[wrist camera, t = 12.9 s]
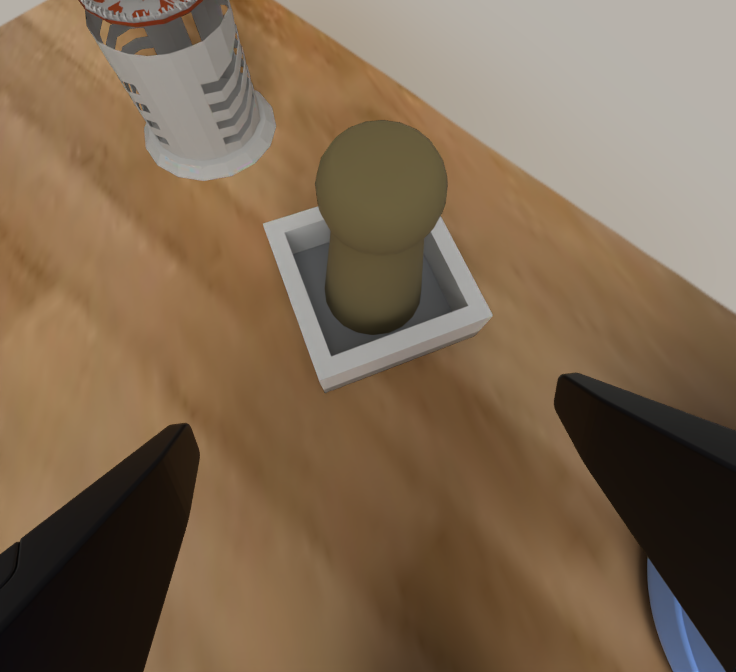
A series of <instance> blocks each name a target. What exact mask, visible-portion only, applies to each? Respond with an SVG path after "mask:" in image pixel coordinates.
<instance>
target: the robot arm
mask: <svg viewBox="0 0 736 672" xmlns="http://www.w3.org/2000/svg"><path fill="white" fill-rule="evenodd" d="M554 407H555V410H556V413H557V414H558V416H559V418H560V420H561V422H562V424H563V426H564V427H565V429H566V431H567V433H568V435H569V437H570V439H571V440H572V442H573V444H574V446H575V448H576V450H577V452H578V453H579V455H580V457H581V459H582V460H583V462H584V464H585V465H586V467H587V468H588V470H589V472H590V473H591V475H592V476H593V477H594V479H595V480H596V482H597V483H598V485H599V486H600V488H601V489H602V491H603V492H604V494H605V495H606V497H607V498H608V499H609V501H610V502H611V504H612V505H613V507H614V508H615V510H616V511H617V513H618V514H619V516H620V517H621V519H622V520H623V522H624V523H625V524H626V526H627V527H628V529H629V530H630V532H631V533H632V535H633V536H634V538H635V539H636V541H637V542H638V544H639V545H640V546H641V548H642V549H643V551H644V552H645V554H646V555H647V557H648V558H649V560H650V561H651V563H652V564H653V566H654V567H655V568H656V570H657V571H658V573H659V574H660V576H661V577H662V579H663V580H664V582H665V583H666V585H667V586H668V588H669V589H670V591H671V592H672V593H673V595H674V596H675V598H676V599H677V601H678V602H679V604H680V605H681V607H682V608H683V610H684V611H685V613H686V614H687V615H688V617H689V618H690V620H691V621H692V623H693V624H694V626H695V627H696V629H697V630H698V632H699V633H700V635H701V636H702V638H703V639H704V640H705V642H706V643H707V645H708V646H709V648H710V649H711V651H712V652H713V654H714V655H715V657H716V658H717V660H718V661H719V662H720V664H721V665H722V667H723V668H724V670H725V671H726V672H736V431H734V430H732V429H729V428H726V427H724V426H721V425H718V424H715V423H713V422H710V421H707V420H705V419H702V418H699V417H696V416H694V415H691V414H688V413H686V412H683V411H680V410H678V409H675V408H672V407H669V406H667V405H664V404H661V403H659V402H656V401H653V400H650V399H648V398H645V397H642V396H640V395H637V394H634V393H631V392H629V391H626V390H623V389H621V388H618V387H615V386H612V385H610V384H607V383H604V382H602V381H599V380H596V379H594V378H591V377H588V376H585V375H583V374H580V373H568V374H562V375H560V376H559V378H558V381H557V386H556V392H555V398H554ZM199 459H200V452H199V448H198V445H197V442H196V440H195V437H194V434H193V431H192V428H191V426H190V425H189V424H187V423H180V424H173V425H169V426H167V427H166V428H165V429H164V430H162V431H161V432H160V433H158V434H157V435H156V436H154V437H153V438H152V439H150V440H149V441H148V442H147V443H145V444H144V445H143V446H141V447H140V448H139V449H137V450H136V451H135V452H133V453H132V454H131V455H130V456H128V457H127V458H126V459H124V460H123V461H122V462H120V463H119V464H118V465H116V466H115V467H114V468H113V469H111V470H110V471H109V472H107V473H106V474H105V475H103V476H102V477H101V478H99V479H98V480H97V481H96V482H94V483H93V484H92V485H90V486H89V487H88V488H86V489H85V490H84V491H82V492H81V493H80V494H79V495H77V496H76V497H75V498H73V499H72V500H71V501H69V502H68V503H67V504H65V505H64V506H63V507H62V508H60V509H59V510H58V511H56V512H55V513H54V514H52V515H51V516H50V517H48V518H47V519H46V520H44V521H43V522H42V523H41V524H39V525H38V526H37V527H35V528H34V529H33V530H31V531H30V532H29V533H27V534H26V535H25V536H24V537H22V538H21V540H20V542H16V543H14V544H13V545H12V546H10V547H9V548H8V549H6V550H5V551H4V552H3V553H1V554H0V672H143V671H144V668H145V665H146V661H147V658H148V655H149V651H150V648H151V644H152V641H153V638H154V634H155V631H156V628H157V624H158V621H159V618H160V614H161V611H162V608H163V604H164V601H165V598H166V594H167V591H168V588H169V584H170V581H171V578H172V574H173V571H174V568H175V564H176V561H177V558H178V554H179V551H180V547H181V544H182V541H183V537H184V534H185V531H186V527H187V523H188V520H189V515H190V510H191V504H192V499H193V493H194V488H195V482H196V476H197V471H198V465H199Z"/></svg>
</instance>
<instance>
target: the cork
mask: <svg viewBox="0 0 736 672" xmlns="http://www.w3.org/2000/svg"><path fill="white" fill-rule="evenodd" d="M315 187H316V195H317V202H318V207H319V211H320V213H321V215H322V217H323V219H324V220H325V222H326V224H327V226H328V228H329V229H330V231H331V233H330V243H329V252H328V261H327V271H326V280H325V295H326V303H327V305H328V307H329V309H330V310H331V312H332V314H333V316H334V317H335V318H336V319H337V320H338V321H339V322H340V323H341V324H342V325H343V326H345V327H347V328H349V329H351V330H353V331H355V332H357V333H363V334H369V335H378V334H385V333H390V332H392V331H394V330H396V329H398V328H400V327H402V326H403V325H404V324H406V323H407V322H408V321H409V320H410V319H411V318H412V317H413V315H414V314H415V312H416V310H417V308H418V306H419V304H420V297H421V288H422V270H423V252H424V238H425V237H426V236H427V235H428V234H429V233H430V232H431V231H432V230H433V229H434V227H435V225H436V223H437V221H438V220H439V218H440V216H441V214H442V212H443V209H444V206H445V203H446V195H447V187H448V185H447V174H446V170H445V166H444V162H443V160H442V158H441V156H440V154H439V153H438V151H437V150H436V148H435V147H434V145H433V144H432V142H431V141H430V140H429V139H428V138H427V137H426V136H424V135H423V134H422V133H421V132H419V131H418V130H417V129H415V128H412V127H410V126H407V125H405V124H402V123H400V122H393V121H386V120H378V121H368V122H363V123H360V124H358V125H355V126H352V127H350V128H348V129H347V130H345V131H344V132H343V133H341V134H340V135H338V136H337V137H336V138H335V139H334V140H333V142H332V143H331V144H330V146H329V147H328V149H327V150H326V151H325V153H324V154H323V156H322V157H321V160H320V164H319V168H318V172H317V176H316V181H315Z"/></svg>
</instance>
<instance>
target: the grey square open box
mask: <svg viewBox="0 0 736 672" xmlns="http://www.w3.org/2000/svg"><path fill="white" fill-rule="evenodd" d="M263 226H264V229H265V232H266V234H267V237H268V240H269V243H270V246H271V248H272V251H273V254H274V257H275V259H276V262H277V265H278V268H279V271H280V273H281V276H282V279H283V282H284V284H285V287H286V290H287V293H288V296H289V298H290V301H291V304H292V307H293V309H294V312H295V315H296V318H297V321H298V323H299V326H300V329H301V332H302V334H303V337H304V340H305V343H306V346H307V348H308V351H309V354H310V357H311V360H312V362H313V365H314V368H315V371H316V373H317V376H318V379H319V382H320V384H321V386H322V388H323V390H324V392H325V393H327V392H329V391H332V390H334V389H337V388H340V387H342V386H345V385H348V384H350V383H353V382H355V381H358V380H361V379H363V378H366V377H368V376H371V375H374V374H376V373H379V372H382V371H384V370H387V369H389V368H392V367H395V366H397V365H400V364H403V363H405V362H408V361H410V360H413V359H416V358H418V357H421V356H423V355H426V354H429V353H431V352H434V351H437V350H439V349H442V348H444V347H447V346H450V345H452V344H455V343H458V342H460V341H463V340H465V339H468V338H471V337H473V336H475V335H476V334H477V333H478V332H479V331H480V330H481V328H482V327H483V326H484V325H485V324H486V323H487V322H488V321H489V320H490V318H491V317H492V316H493V315H492V313H491V311H490V309H489V307H488V305H487V303H486V301H485V299H484V298H483V296H482V294H481V292H480V290H479V288H478V286H477V284H476V282H475V280H474V279H473V277H472V275H471V273H470V271H469V269H468V267H467V265H466V263H465V261H464V260H463V258H462V256H461V254H460V252H459V250H458V248H457V246H456V244H455V242H454V241H453V239H452V237H451V235H450V233H449V231H448V229H447V227H446V225H445V223H444V222H443V220H442V218H441V216H440V218H439V220H438V221H437V223H436V225H435V227H434V229H433V230H432V231H431V232H430V233H429V234H428V235H427V236H426V237H425V238H424V252H423V270H422V288H421V297H420V304H419V306H418V308H417V310H416V312H415V314H414V315H413V317H412V318H411V319H410V320H409V321H408V322H407V323H406V324H404V325H403V326H402V327H400V328H398V329H396V330H394V331H392V332H390V333H385V334H378V335H369V334H363V333H357V332H355V331H353V330H351V329H349V328H347V327H345V326H343V325H342V324H341V323H340V322H339V321H338V320H337V319H336V318H335V317H334V316H333V314H332V312H331V310H330V309H329V307H328V305H327V303H326V295H325V280H326V271H327V261H328V252H329V243H330V233H331V231H330V229H329V228H328V226H327V224H326V222H325V220H324V219H323V217H322V215H321V213H320V211H319V207H315V208H311V209H308V210H305V211H302V212H299V213H295V214H292V215H289V216H286V217H283V218H279V219H276V220H273V221H270V222H267V223H263Z"/></svg>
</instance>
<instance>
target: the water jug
mask: <svg viewBox="0 0 736 672" xmlns="http://www.w3.org/2000/svg"><path fill="white" fill-rule="evenodd" d="M647 579H648V591H649V598H650V604H651V610H652V614H653V619H654V622H655V626H656V630H657V633H658V636H659V639H660V642H661V645H662V647H663V650H664V652H665V655H666V657H667V660H668V662H669V664H670V666H671V668H672V670H673V672H726V671H725V670H724V668H723V667H722V665H721V664H720V662H719V661H718V660H717V658H716V657H715V655H714V654H713V652H712V651H711V649H710V648H709V646H708V645H707V643H706V642H705V640H704V639H703V638H702V636H701V635H700V633H699V632H698V630H697V629H696V627H695V626H694V624H693V623H692V621H691V620H690V618H689V617H688V615H687V614H686V613H685V611H684V610H683V608H682V607H681V605H680V604H679V602H678V601H677V599H676V598H675V596H674V595H673V593H672V592H671V591H670V589H669V588H668V586H667V585H666V583H665V582H664V580H663V579H662V577H661V576H660V574H659V573H658V571H657V570H656V568H655V567H654V566H653V564H652V563H651V561H650V560H649V558H648V559H647Z"/></svg>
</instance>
